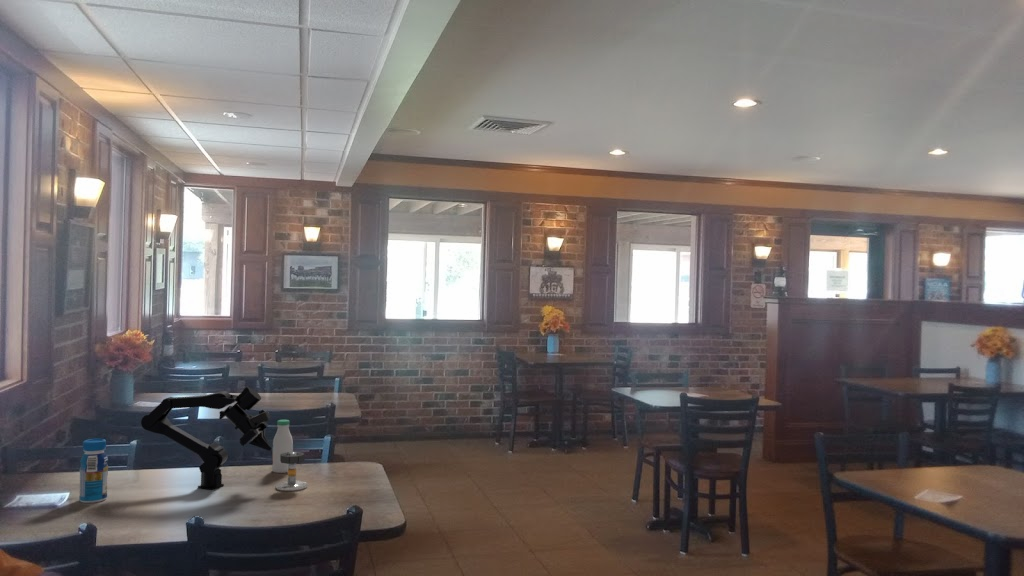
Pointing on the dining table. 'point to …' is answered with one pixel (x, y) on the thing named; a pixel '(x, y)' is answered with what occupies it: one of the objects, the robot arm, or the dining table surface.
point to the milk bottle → (281, 446)
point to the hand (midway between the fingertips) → (270, 449)
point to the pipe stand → (291, 479)
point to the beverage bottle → (93, 471)
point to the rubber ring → (292, 458)
